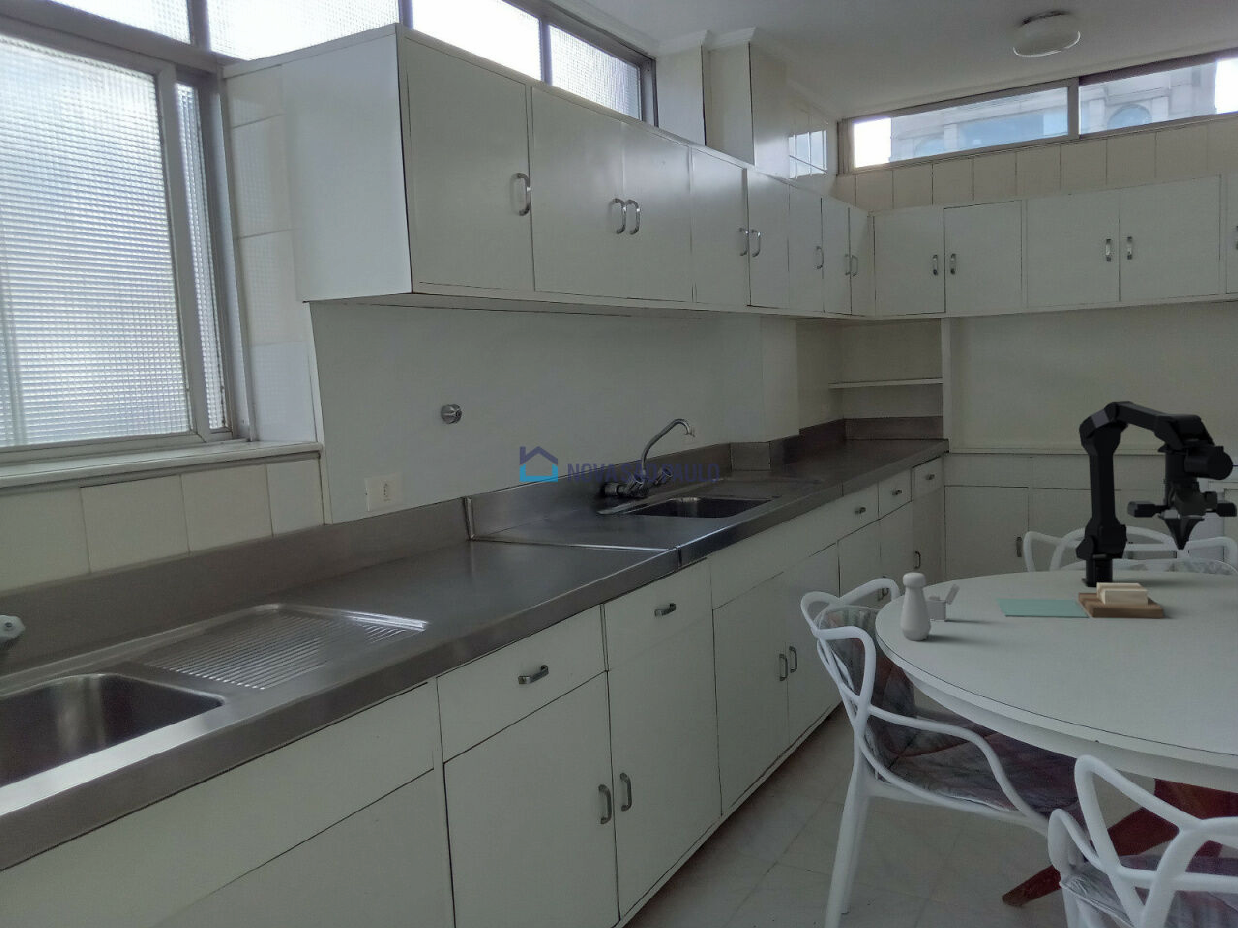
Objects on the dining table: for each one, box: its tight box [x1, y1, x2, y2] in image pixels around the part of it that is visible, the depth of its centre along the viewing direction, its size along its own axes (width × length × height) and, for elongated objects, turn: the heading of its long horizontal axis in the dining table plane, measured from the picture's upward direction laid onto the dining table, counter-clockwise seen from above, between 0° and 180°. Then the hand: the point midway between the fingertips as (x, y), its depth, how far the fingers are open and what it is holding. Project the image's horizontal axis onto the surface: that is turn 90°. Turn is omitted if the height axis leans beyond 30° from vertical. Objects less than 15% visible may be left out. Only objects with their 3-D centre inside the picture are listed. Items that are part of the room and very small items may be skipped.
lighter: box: [925, 583, 961, 620], centre depth 189 cm, size 7×2×8 cm, turn 57°
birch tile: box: [1096, 582, 1149, 605], centre depth 191 cm, size 7×8×3 cm
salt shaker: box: [900, 572, 932, 641], centre depth 178 cm, size 6×6×13 cm
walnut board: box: [1078, 592, 1164, 620], centre depth 191 cm, size 13×13×2 cm
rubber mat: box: [995, 597, 1089, 619], centre depth 195 cm, size 14×16×1 cm
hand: (1180, 549), depth 187 cm, fingers closed
